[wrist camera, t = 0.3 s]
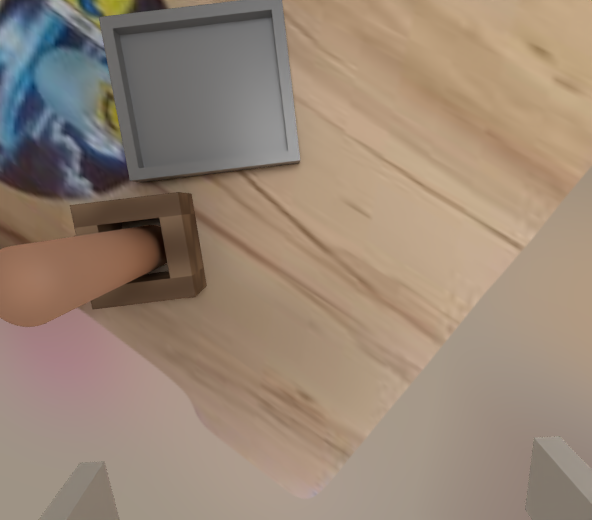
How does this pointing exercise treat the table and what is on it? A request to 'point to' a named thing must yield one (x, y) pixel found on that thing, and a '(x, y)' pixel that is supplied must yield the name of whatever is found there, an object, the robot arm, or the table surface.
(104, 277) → the dowel
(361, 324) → the table surface
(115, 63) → the tray
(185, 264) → the socket block
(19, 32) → the table surface
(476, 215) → the table surface
